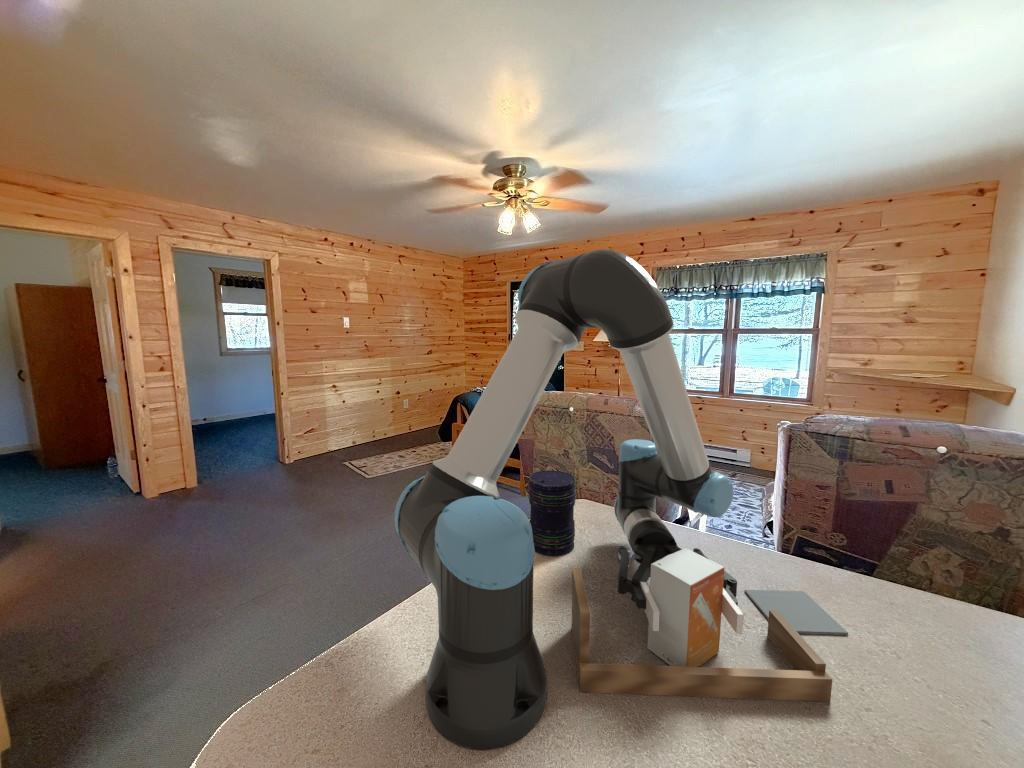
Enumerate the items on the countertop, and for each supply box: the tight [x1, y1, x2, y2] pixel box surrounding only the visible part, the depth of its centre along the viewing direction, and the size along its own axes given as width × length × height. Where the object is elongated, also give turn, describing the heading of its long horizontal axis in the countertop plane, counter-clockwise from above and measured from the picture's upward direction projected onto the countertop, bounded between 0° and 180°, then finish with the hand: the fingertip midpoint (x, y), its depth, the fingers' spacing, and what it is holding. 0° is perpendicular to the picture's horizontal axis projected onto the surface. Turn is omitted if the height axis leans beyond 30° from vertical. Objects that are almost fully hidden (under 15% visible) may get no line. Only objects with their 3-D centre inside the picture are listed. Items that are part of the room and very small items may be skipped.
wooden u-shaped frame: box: [571, 567, 833, 703], centre depth 55 cm, size 30×11×10 cm, turn 87°
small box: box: [646, 547, 725, 667], centre depth 57 cm, size 8×6×13 cm
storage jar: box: [528, 469, 576, 558], centre depth 87 cm, size 10×10×15 cm
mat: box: [744, 589, 849, 636], centre depth 66 cm, size 10×10×1 cm
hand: (697, 622), depth 53 cm, fingers closed on small box, 10 cm apart
